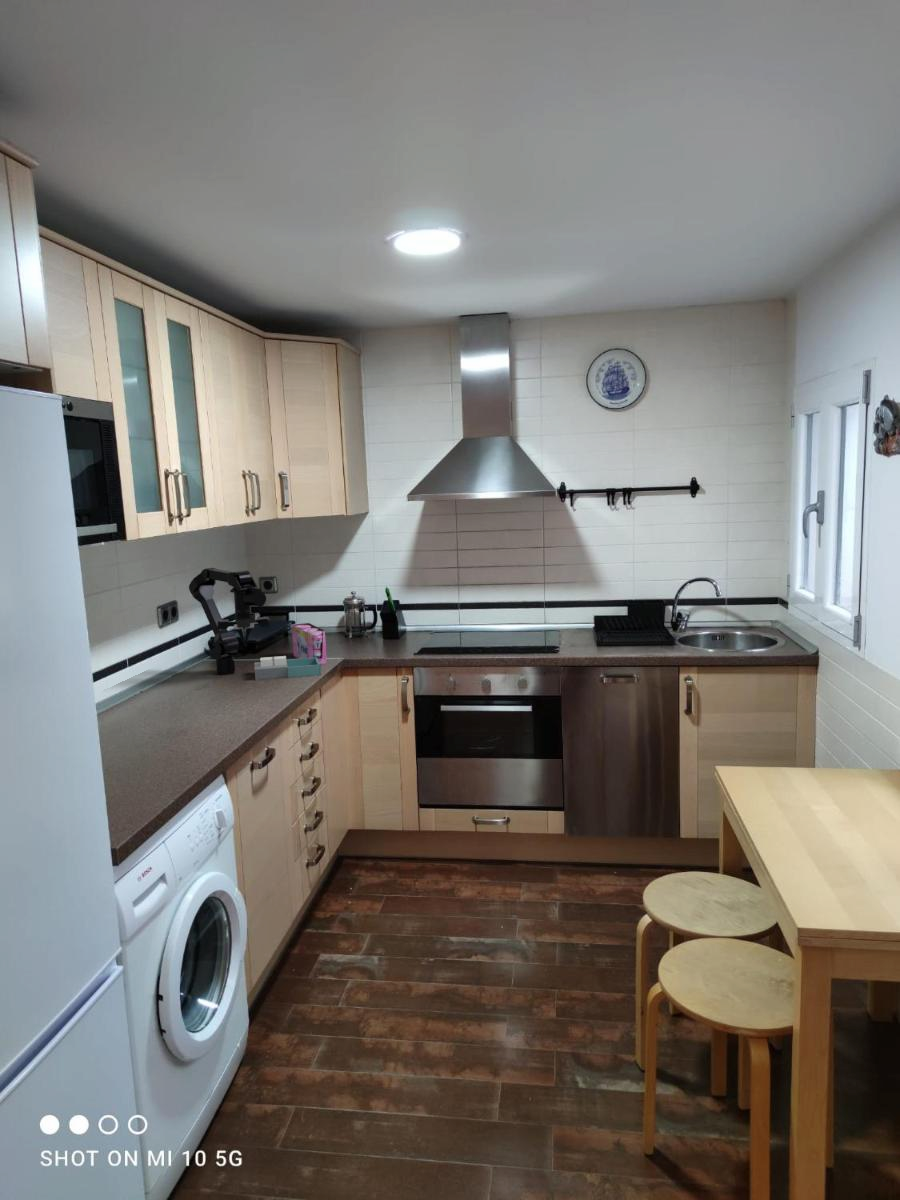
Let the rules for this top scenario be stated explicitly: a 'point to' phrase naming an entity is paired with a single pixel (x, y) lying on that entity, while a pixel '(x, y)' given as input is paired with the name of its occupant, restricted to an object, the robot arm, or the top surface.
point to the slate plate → (270, 671)
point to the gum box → (309, 642)
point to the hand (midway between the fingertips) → (245, 645)
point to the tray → (303, 667)
